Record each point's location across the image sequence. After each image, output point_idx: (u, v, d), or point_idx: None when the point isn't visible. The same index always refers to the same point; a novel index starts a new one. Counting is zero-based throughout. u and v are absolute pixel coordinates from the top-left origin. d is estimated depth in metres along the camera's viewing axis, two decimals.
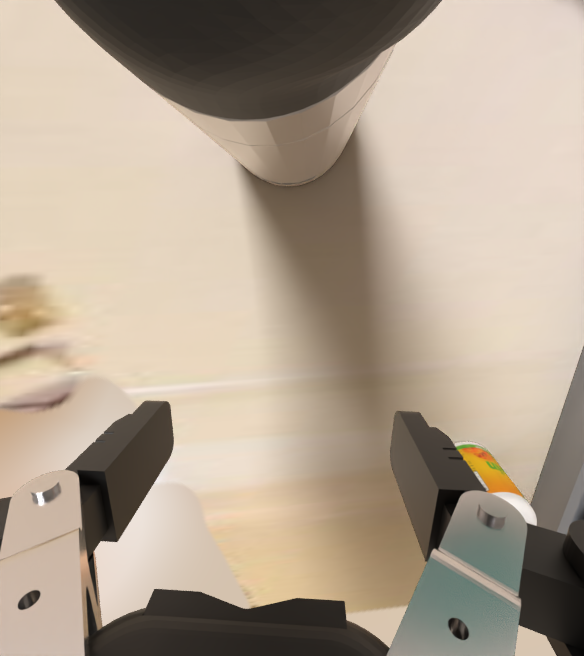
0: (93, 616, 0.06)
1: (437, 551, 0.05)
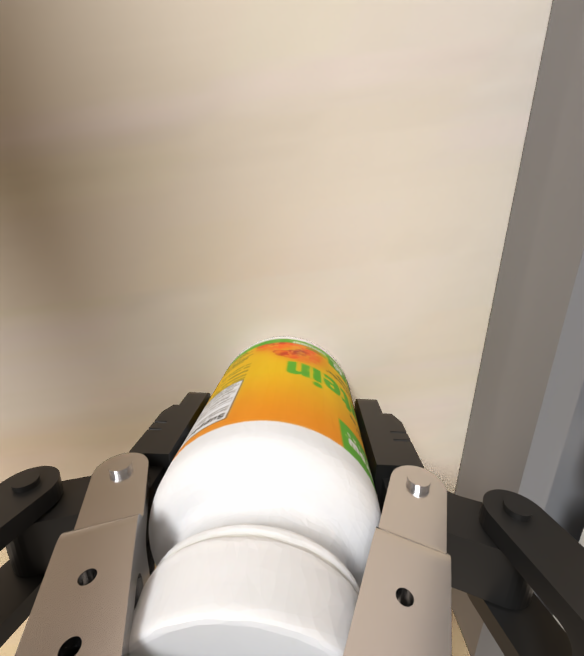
0: None
1: (379, 529, 0.06)
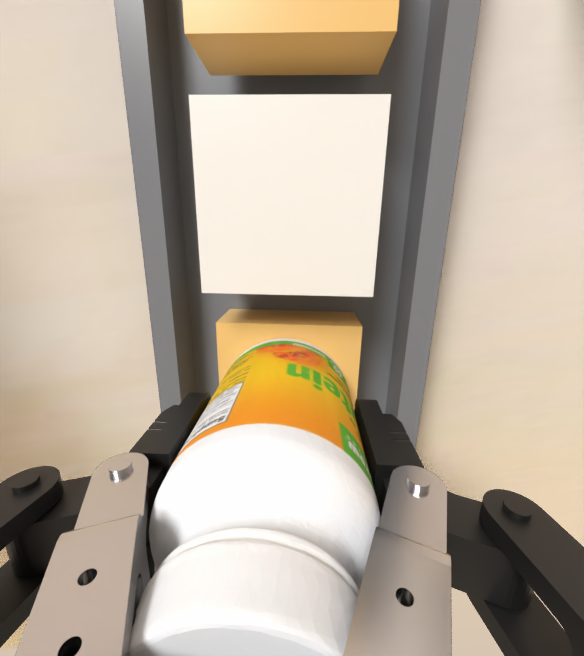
0: None
1: (379, 529, 0.06)
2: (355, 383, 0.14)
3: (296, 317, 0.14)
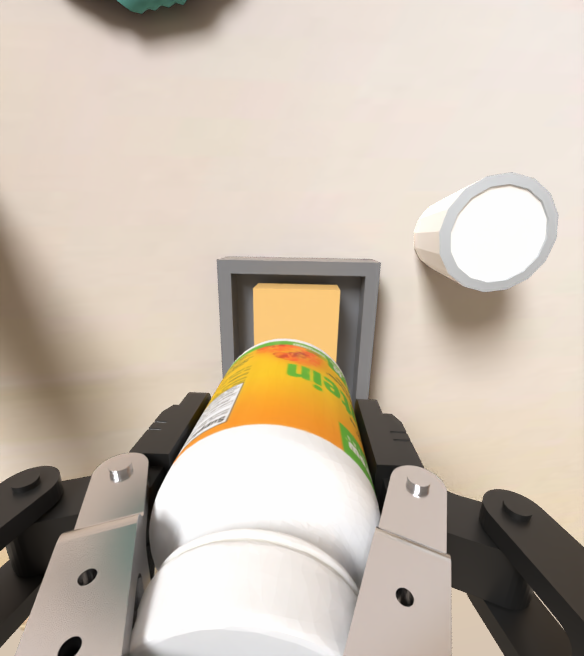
0: None
1: (379, 529, 0.06)
2: None
3: None
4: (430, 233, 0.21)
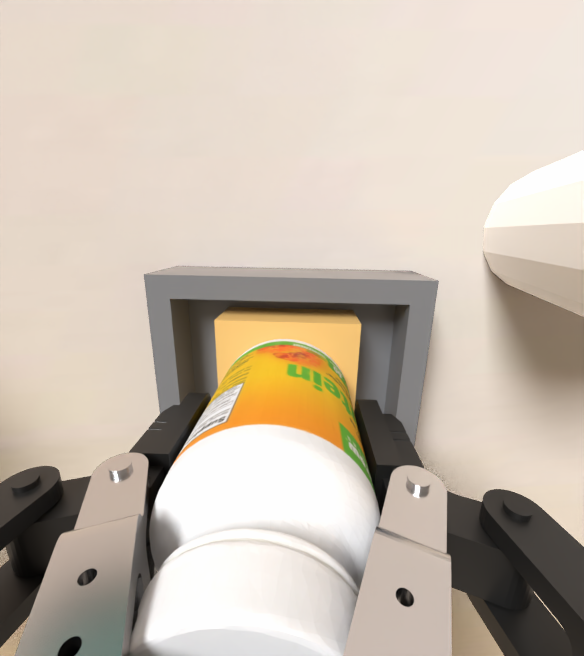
0: None
1: (378, 529, 0.06)
2: None
3: None
4: (548, 226, 0.11)
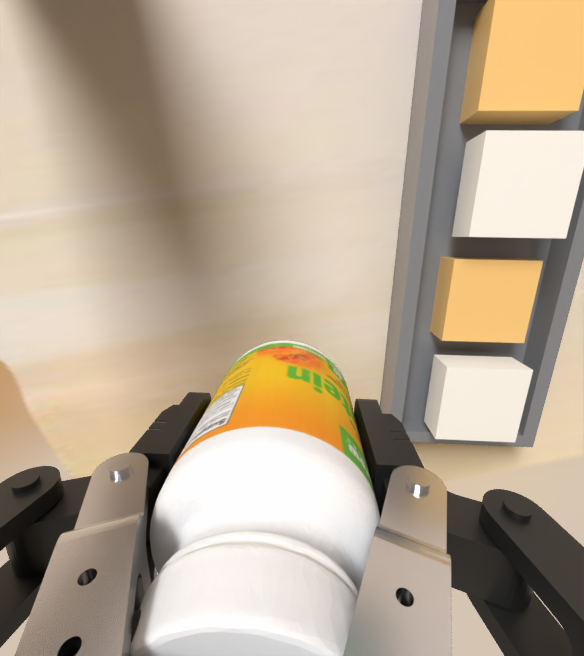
0: None
1: (379, 529, 0.06)
2: (533, 297, 0.23)
3: None
4: None
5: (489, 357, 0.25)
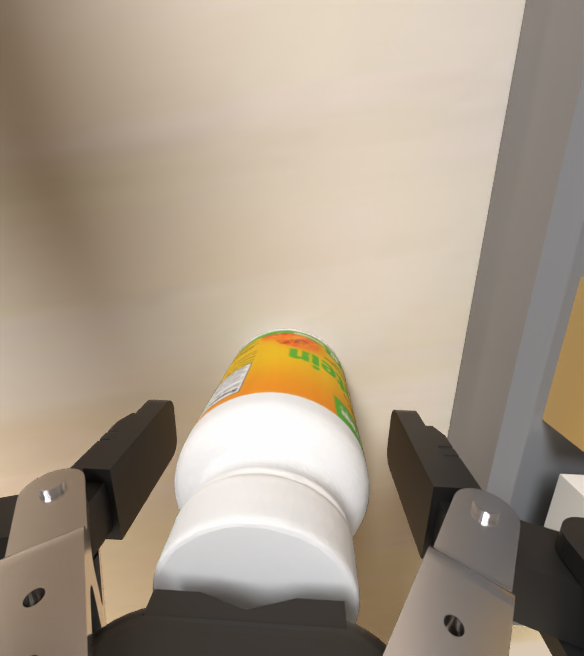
0: (97, 614, 0.06)
1: (432, 549, 0.05)
2: None
3: None
4: None
5: None
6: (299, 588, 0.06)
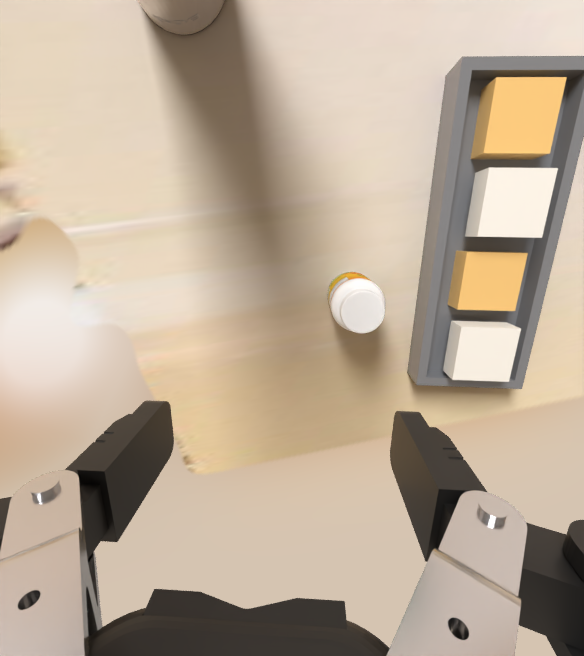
0: (93, 616, 0.06)
1: (437, 551, 0.05)
2: (521, 278, 0.33)
3: None
4: None
5: (490, 322, 0.35)
6: (372, 307, 0.29)
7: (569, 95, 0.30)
